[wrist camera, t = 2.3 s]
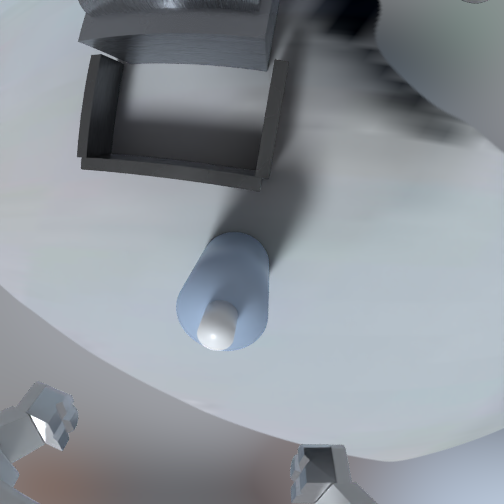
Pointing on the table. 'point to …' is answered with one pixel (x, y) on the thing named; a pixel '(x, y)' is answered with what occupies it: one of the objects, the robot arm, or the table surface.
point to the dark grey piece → (180, 52)
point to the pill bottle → (475, 1)
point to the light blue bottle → (227, 294)
